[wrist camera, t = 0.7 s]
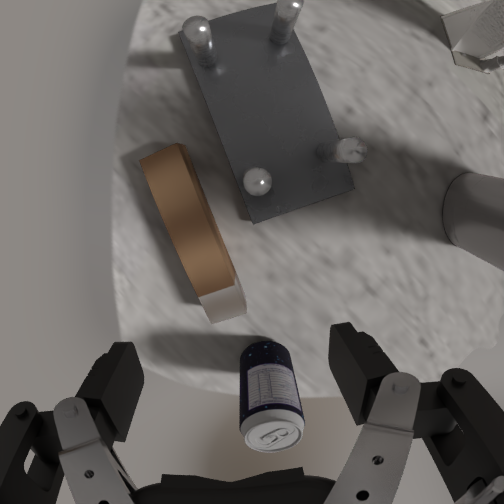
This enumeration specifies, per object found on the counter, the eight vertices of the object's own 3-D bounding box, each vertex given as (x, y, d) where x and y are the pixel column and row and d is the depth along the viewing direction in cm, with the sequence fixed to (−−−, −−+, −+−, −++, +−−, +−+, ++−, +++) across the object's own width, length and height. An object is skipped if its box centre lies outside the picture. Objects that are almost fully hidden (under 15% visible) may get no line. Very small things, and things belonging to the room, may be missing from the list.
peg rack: (277, 7, 21) (289, -37, 13) (350, 187, 26) (389, 199, 19) (180, 36, 21) (159, -3, 14) (252, 221, 27) (256, 246, 19)
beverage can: (229, 354, 32) (225, 437, 20) (268, 327, 31) (280, 409, 19) (261, 381, 33) (267, 460, 22) (298, 357, 32) (319, 436, 21)
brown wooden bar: (151, 160, 25) (139, 160, 22) (185, 145, 25) (176, 142, 22) (214, 306, 30) (211, 324, 27) (246, 296, 30) (246, 313, 26)
